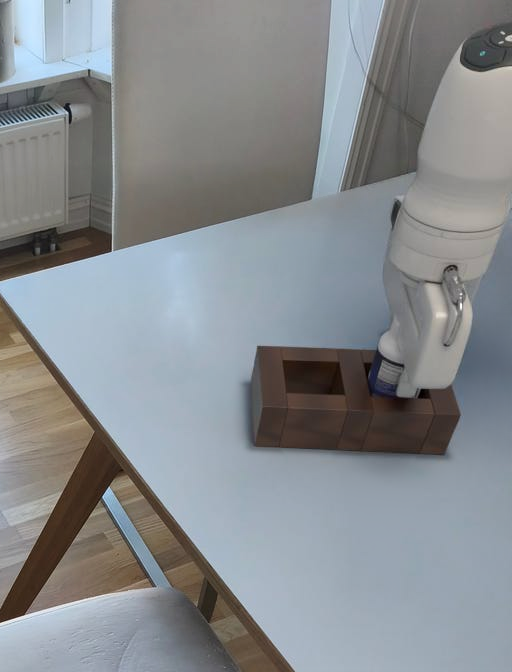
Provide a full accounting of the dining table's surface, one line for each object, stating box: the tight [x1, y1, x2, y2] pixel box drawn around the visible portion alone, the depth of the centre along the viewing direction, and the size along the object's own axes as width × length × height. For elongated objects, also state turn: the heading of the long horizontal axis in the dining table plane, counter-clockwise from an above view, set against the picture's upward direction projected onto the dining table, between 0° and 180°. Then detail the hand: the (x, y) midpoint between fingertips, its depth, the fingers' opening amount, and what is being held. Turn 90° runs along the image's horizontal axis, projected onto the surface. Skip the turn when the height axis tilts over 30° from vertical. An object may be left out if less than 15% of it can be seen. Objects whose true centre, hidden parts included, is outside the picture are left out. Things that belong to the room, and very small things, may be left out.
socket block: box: [249, 345, 462, 456], centre depth 93 cm, size 19×11×5 cm, turn 84°
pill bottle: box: [367, 314, 421, 398], centre depth 89 cm, size 5×5×10 cm
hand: (398, 373), depth 90 cm, fingers closed on pill bottle, 5 cm apart
